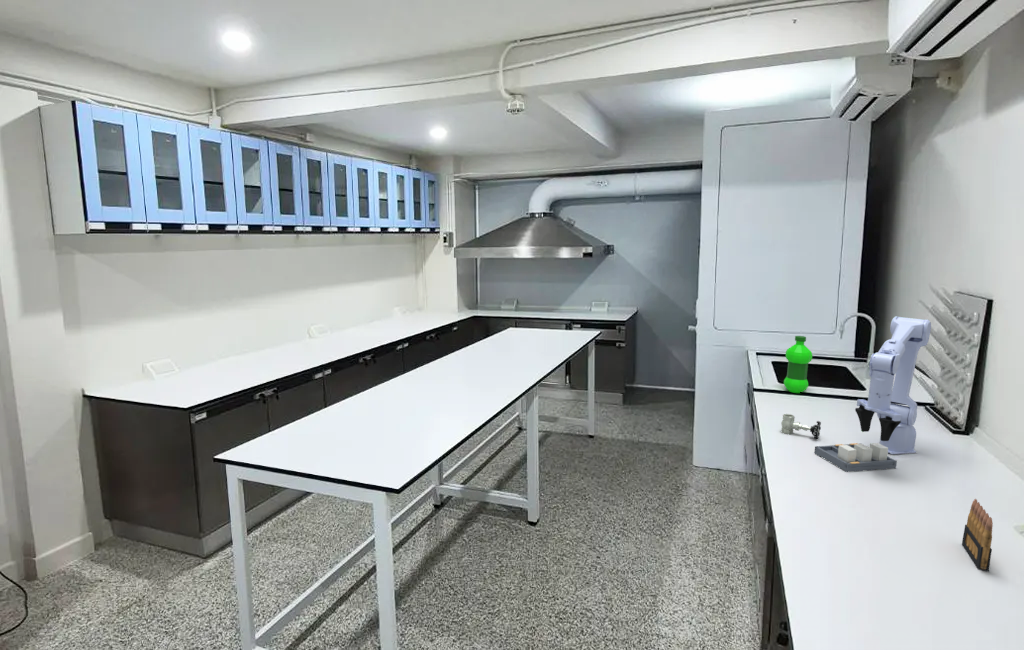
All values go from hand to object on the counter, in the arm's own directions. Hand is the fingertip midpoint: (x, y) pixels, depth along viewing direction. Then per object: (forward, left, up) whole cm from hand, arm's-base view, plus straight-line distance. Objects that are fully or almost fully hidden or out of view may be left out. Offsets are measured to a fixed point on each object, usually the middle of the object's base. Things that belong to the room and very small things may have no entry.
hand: (874, 435), depth 168 cm
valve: (+4, -28, -11) cm, 30 cm away
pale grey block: (-4, -2, -9) cm, 10 cm away
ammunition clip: (+14, +45, -10) cm, 48 cm away
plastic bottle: (-30, -76, -10) cm, 82 cm away
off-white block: (+1, -2, -9) cm, 9 cm away
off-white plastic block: (+7, -2, -9) cm, 11 cm away
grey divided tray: (+1, -5, -10) cm, 12 cm away
